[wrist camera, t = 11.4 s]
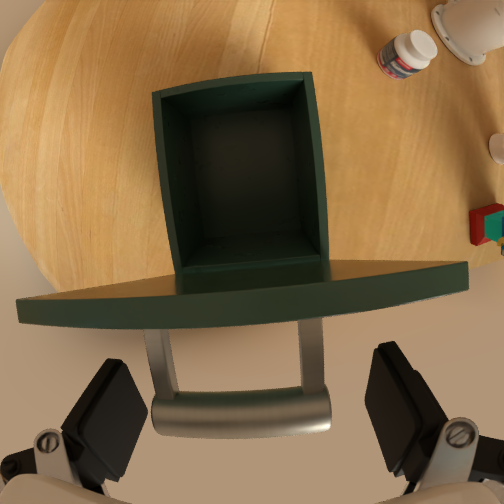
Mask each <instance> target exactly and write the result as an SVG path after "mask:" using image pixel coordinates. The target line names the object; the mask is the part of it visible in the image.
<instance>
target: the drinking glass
mask: <svg viewBox="0 0 504 504" xmlns="http://www.w3.org/2000/svg"><path fill="white" fill-rule="evenodd" d="M489 150H490V154H491V156H492V158H493V160H494V161H495V162H496V163H498V164H503V165H504V133H496V134H493V135H492V136H491V137H490V140H489Z"/></svg>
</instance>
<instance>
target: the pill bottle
mask: <svg viewBox="0 0 504 504" xmlns="http://www.w3.org/2000/svg"><path fill="white" fill-rule="evenodd" d="M436 55H437V46H436V44H435V42H434V41H433V39H432V38H431V37H430V36H429V35H428V34H427V33H425V32H423V31H421V30H413V31H411V32H410V33H409V34H408V33H402V34H399V35H398V36H396V37H395V38H394V39H393V40H391V41H390V42H389V43H388V44H387V45H386V46H384V47H383V48H382V49H381V50H380V51H379V53H378V55H377V60H378V64H379V66H380V68H381V69H382V71H383V72H384V73H385V74H386V75H388V76H389V77H391V78H393V79H397V80H402V79H405V78H407V77H409V76H411V75H412V74H414V73H416V72H418V71H420V70H422V69H424V68H426V67H427V66H428V65H429V63H430V60H431V59H432V58H434V57H435V56H436Z"/></svg>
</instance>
